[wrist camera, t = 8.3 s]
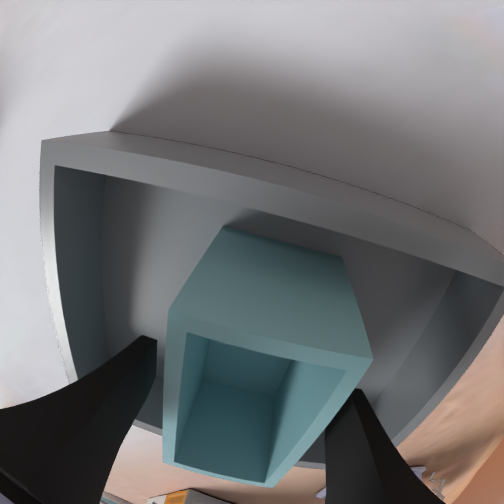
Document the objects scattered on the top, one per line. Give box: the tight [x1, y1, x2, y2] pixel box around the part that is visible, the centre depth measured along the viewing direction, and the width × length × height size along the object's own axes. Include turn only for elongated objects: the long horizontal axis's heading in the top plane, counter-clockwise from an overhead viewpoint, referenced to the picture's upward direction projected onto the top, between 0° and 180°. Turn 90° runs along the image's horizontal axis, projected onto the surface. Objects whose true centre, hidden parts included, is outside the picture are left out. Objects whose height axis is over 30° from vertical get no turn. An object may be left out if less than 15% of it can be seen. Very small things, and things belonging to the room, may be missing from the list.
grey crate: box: [39, 131, 504, 470], centre depth 13 cm, size 18×14×4 cm
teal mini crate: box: [163, 226, 374, 488], centre depth 11 cm, size 5×9×6 cm, turn 167°
